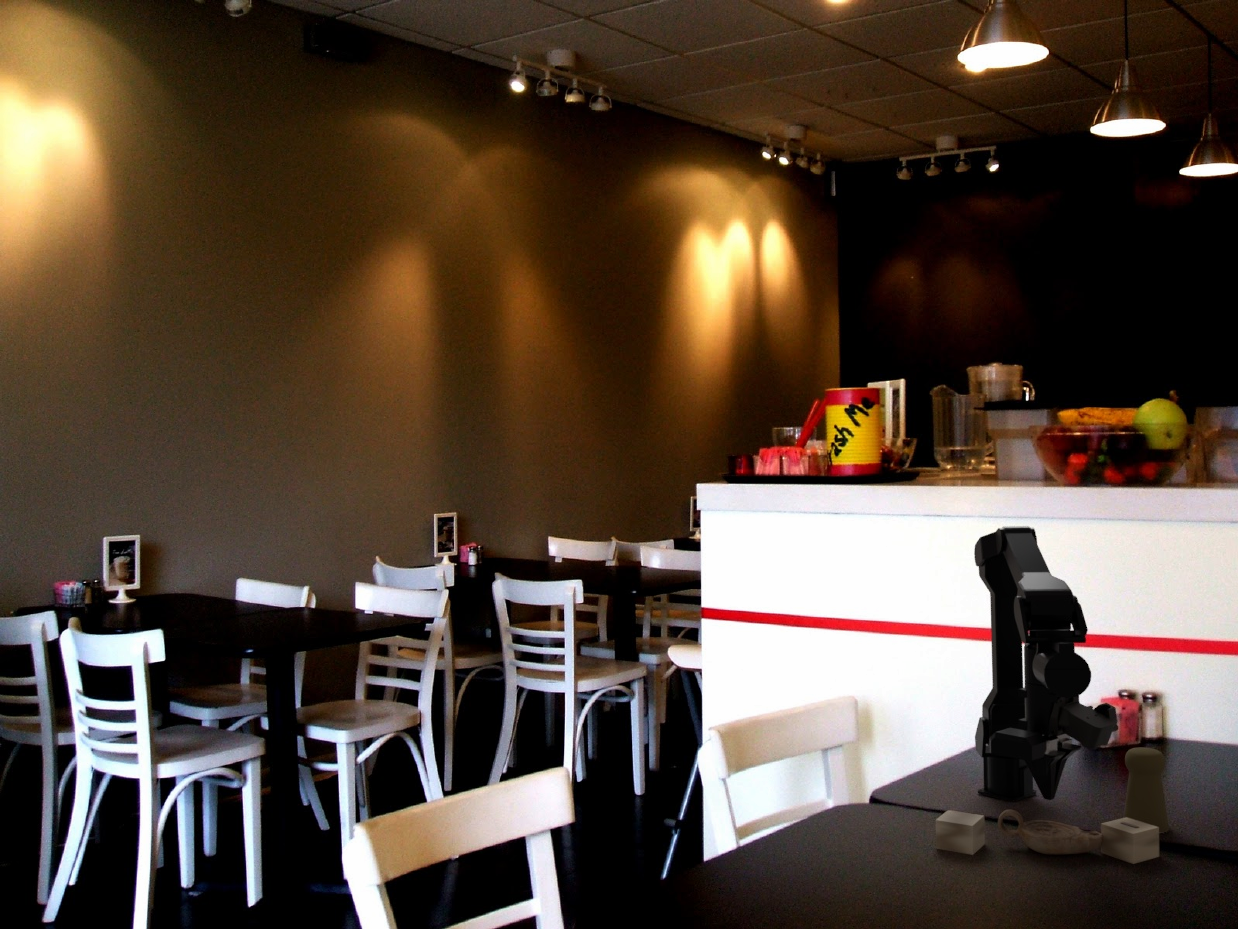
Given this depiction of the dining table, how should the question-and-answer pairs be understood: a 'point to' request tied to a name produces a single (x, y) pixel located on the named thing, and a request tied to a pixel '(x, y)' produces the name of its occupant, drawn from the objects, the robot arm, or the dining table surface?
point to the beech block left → (960, 832)
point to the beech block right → (1130, 840)
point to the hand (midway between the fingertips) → (1048, 799)
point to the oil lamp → (1051, 835)
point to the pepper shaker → (1146, 787)
